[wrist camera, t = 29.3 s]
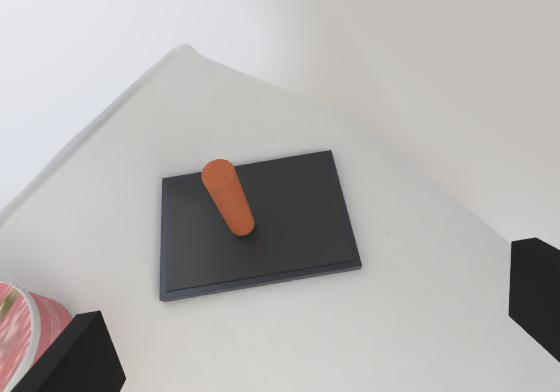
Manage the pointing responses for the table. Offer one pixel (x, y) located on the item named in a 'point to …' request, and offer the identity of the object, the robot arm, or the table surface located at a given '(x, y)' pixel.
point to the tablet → (256, 229)
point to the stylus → (228, 196)
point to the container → (25, 331)
